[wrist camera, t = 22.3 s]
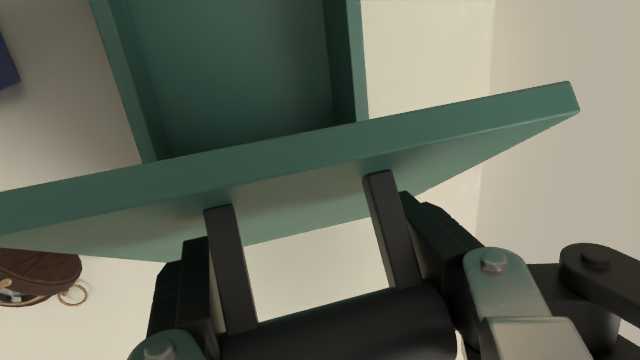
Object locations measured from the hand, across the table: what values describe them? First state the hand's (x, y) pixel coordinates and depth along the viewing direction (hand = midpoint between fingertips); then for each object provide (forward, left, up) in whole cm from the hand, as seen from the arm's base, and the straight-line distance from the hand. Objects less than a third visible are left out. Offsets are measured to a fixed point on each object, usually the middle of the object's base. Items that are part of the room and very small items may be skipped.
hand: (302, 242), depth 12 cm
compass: (+8, -16, -18) cm, 25 cm away
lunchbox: (-2, 0, -18) cm, 18 cm away
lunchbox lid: (+1, 0, -5) cm, 5 cm away
